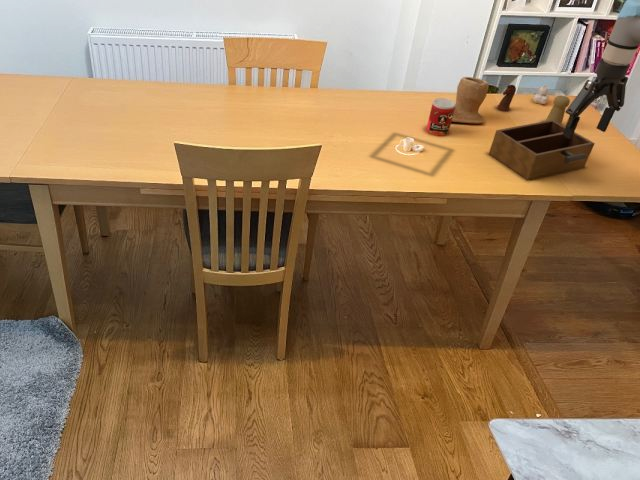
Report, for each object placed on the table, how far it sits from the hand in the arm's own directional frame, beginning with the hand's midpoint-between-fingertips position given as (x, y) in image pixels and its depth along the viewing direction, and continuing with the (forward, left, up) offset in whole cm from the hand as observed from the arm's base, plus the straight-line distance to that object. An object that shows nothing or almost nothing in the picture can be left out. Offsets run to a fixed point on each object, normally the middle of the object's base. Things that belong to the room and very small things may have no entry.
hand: (583, 133), depth 173 cm
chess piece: (+48, -18, -16) cm, 54 cm away
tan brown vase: (+47, +3, -16) cm, 50 cm away
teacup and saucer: (+30, +36, -16) cm, 50 cm away
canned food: (+41, +18, -16) cm, 48 cm away
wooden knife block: (+10, 0, -16) cm, 19 cm away
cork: (+31, -26, -16) cm, 44 cm away
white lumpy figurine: (+48, -36, -16) cm, 62 cm away
